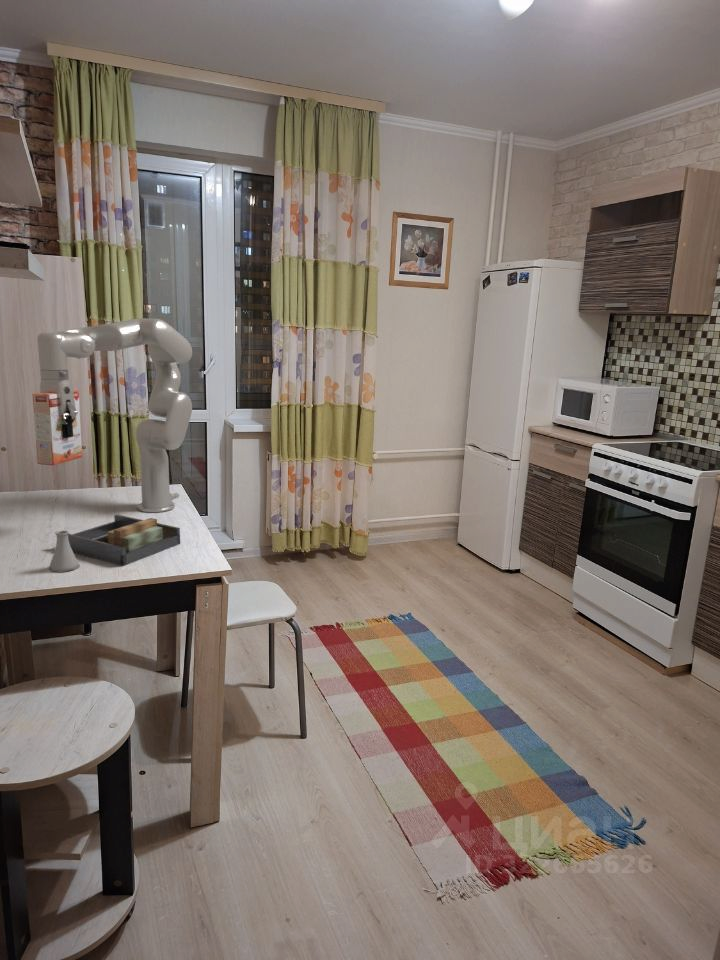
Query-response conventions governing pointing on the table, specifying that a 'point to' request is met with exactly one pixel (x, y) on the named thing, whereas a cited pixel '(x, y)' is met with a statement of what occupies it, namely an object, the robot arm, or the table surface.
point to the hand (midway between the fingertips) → (59, 435)
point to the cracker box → (55, 430)
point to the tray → (114, 553)
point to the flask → (63, 554)
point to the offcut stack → (136, 534)
